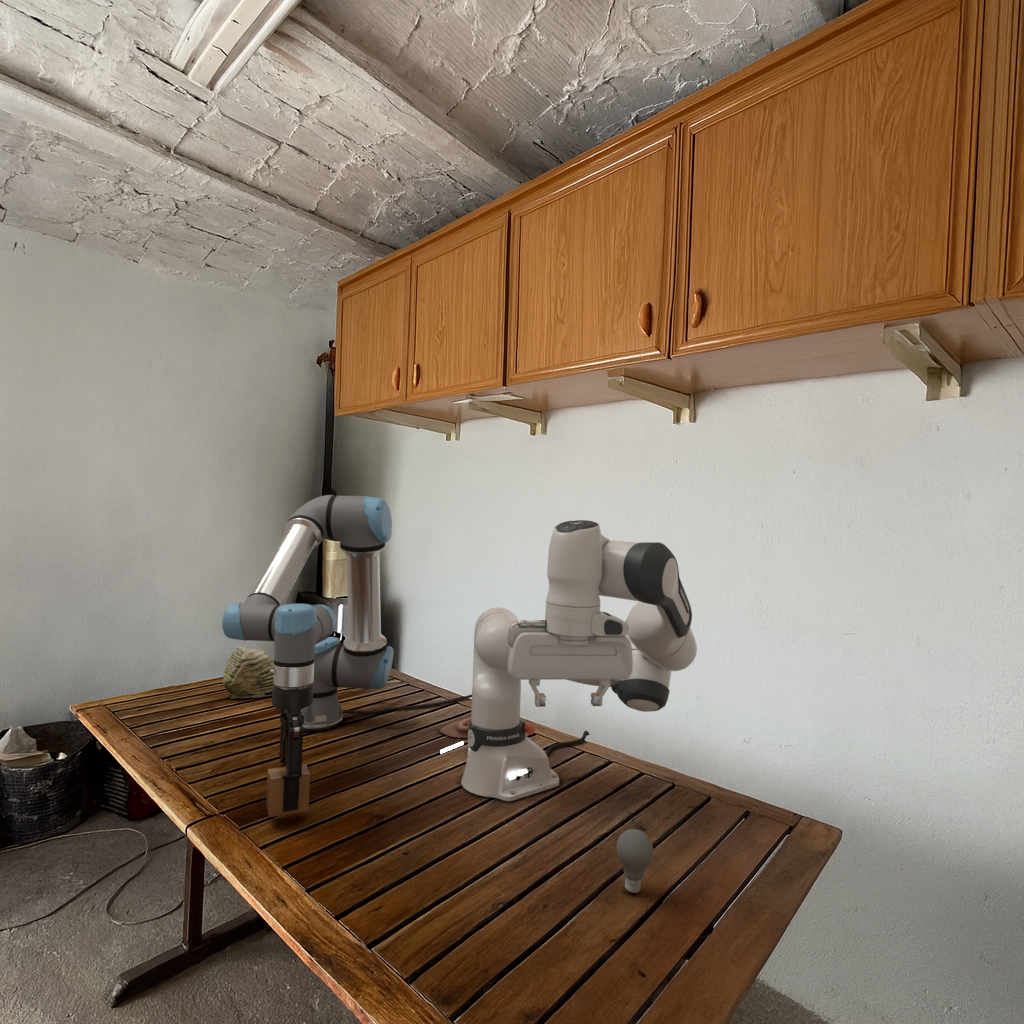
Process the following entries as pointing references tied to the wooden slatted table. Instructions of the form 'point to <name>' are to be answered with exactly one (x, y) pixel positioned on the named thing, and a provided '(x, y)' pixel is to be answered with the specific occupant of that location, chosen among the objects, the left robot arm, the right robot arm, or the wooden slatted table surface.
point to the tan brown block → (277, 789)
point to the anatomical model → (457, 729)
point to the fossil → (249, 673)
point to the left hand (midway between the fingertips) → (288, 803)
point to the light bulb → (634, 857)
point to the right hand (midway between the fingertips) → (568, 705)
